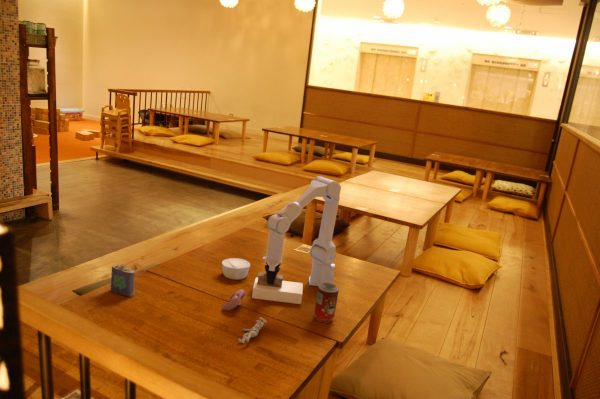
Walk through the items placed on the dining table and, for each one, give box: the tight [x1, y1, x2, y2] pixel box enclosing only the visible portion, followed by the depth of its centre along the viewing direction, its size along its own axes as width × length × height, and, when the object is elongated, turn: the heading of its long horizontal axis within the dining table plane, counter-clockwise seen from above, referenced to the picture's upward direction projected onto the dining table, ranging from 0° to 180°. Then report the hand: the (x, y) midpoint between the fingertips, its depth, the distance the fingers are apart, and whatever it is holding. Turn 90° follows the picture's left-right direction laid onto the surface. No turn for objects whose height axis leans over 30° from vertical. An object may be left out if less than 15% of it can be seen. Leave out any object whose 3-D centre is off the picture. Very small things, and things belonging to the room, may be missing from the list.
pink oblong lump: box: [221, 288, 247, 311], centre depth 164 cm, size 10×5×7 cm, turn 169°
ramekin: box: [221, 257, 251, 281], centre depth 190 cm, size 11×11×5 cm
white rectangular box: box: [251, 276, 304, 305], centre depth 177 cm, size 18×10×4 cm, turn 89°
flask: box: [109, 263, 136, 298], centre depth 161 cm, size 9×3×11 cm, turn 68°
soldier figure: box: [237, 316, 268, 344], centre depth 146 cm, size 8×5×12 cm
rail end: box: [257, 272, 284, 288], centre depth 176 cm, size 9×3×6 cm, turn 89°
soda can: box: [314, 283, 340, 324], centre depth 163 cm, size 7×7×12 cm
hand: (270, 282), depth 176 cm, fingers closed on rail end, 3 cm apart
